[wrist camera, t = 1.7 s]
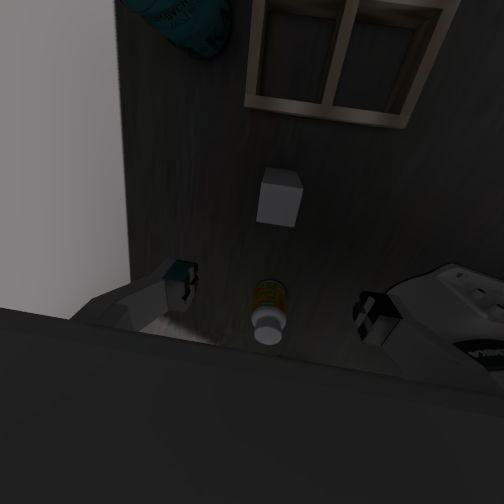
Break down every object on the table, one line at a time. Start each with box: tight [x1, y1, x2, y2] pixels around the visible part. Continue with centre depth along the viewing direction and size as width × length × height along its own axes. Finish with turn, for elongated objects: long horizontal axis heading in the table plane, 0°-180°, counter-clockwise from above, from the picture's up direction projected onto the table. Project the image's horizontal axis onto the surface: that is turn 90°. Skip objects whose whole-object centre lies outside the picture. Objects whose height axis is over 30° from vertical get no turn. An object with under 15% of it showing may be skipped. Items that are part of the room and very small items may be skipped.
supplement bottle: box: [252, 280, 286, 345], centre depth 34 cm, size 5×5×10 cm
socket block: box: [244, 0, 461, 128], centre depth 19 cm, size 16×12×4 cm
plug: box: [256, 167, 303, 227], centre depth 25 cm, size 4×4×9 cm
